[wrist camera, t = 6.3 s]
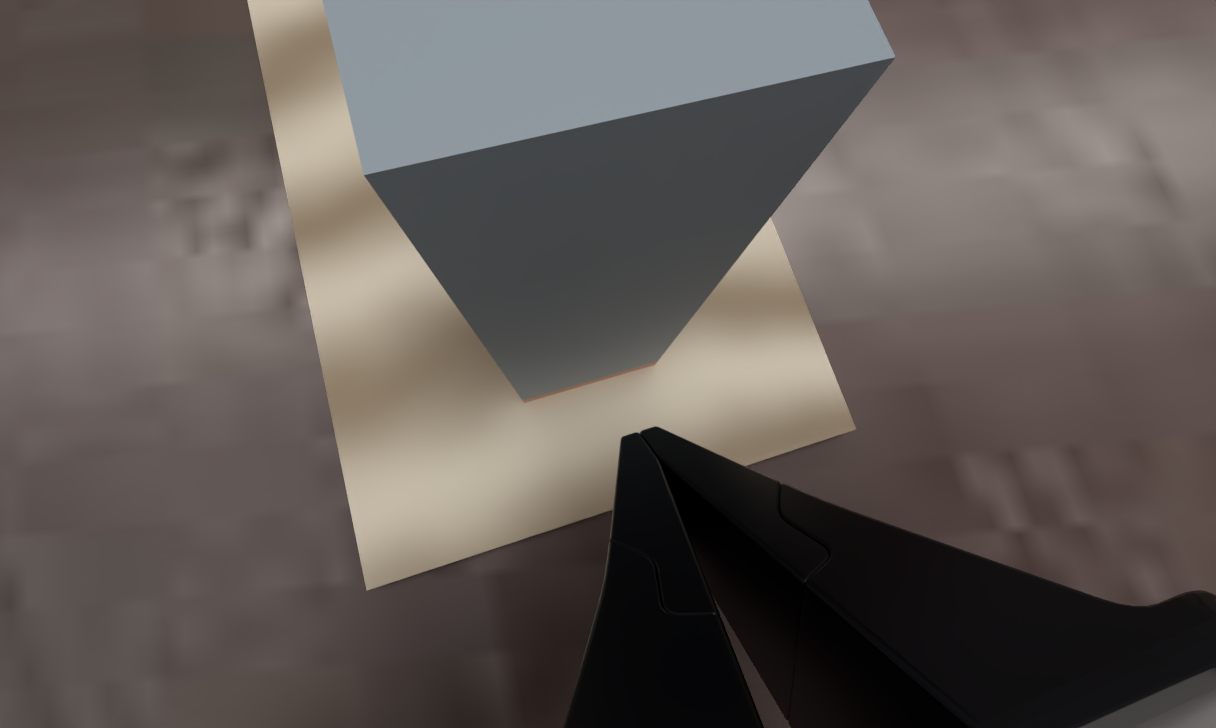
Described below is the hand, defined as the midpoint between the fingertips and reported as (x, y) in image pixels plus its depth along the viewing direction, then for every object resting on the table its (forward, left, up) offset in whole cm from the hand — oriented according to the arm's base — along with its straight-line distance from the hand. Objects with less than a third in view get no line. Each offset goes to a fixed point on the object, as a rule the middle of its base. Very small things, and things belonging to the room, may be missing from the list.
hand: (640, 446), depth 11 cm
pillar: (+3, +4, -7) cm, 9 cm away
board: (+6, +9, -8) cm, 14 cm away
